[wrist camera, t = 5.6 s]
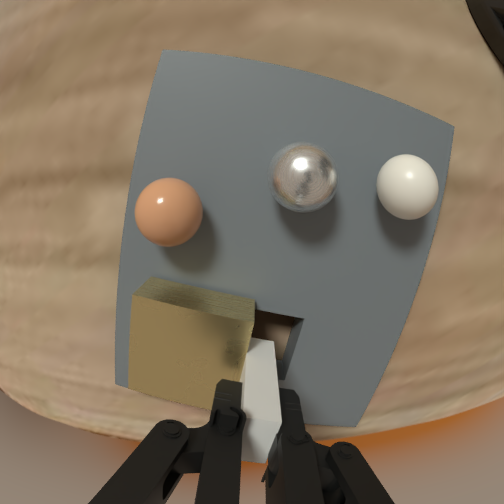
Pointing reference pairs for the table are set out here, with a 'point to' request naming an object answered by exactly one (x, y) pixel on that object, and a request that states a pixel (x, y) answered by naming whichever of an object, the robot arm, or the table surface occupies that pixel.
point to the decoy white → (407, 187)
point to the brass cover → (186, 340)
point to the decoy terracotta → (168, 212)
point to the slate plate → (286, 216)
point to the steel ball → (302, 177)
